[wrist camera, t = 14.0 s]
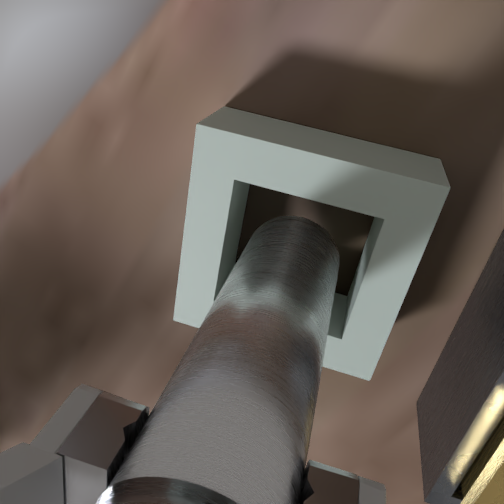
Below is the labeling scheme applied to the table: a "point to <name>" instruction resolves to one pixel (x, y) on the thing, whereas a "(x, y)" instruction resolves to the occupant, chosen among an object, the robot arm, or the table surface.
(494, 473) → the gold rectangular block
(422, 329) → the table surface
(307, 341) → the metal cylindrical peg
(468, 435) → the socket block
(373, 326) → the pale green square frame
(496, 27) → the table surface
